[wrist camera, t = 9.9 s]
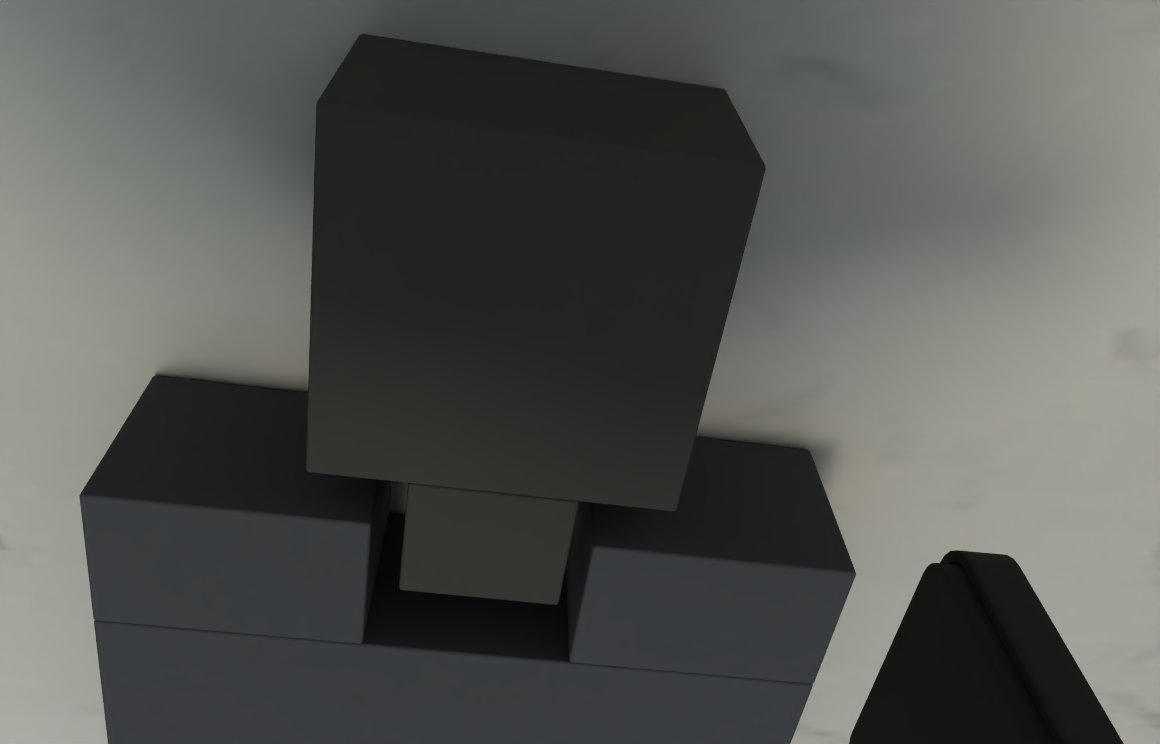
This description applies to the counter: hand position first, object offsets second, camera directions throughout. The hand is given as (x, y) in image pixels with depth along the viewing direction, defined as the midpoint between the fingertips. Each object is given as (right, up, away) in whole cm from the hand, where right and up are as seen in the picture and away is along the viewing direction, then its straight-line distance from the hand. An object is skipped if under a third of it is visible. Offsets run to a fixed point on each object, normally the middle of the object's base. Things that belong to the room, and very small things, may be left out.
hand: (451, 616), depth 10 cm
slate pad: (-2, -4, +15) cm, 15 cm away
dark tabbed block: (0, +4, +10) cm, 11 cm away
